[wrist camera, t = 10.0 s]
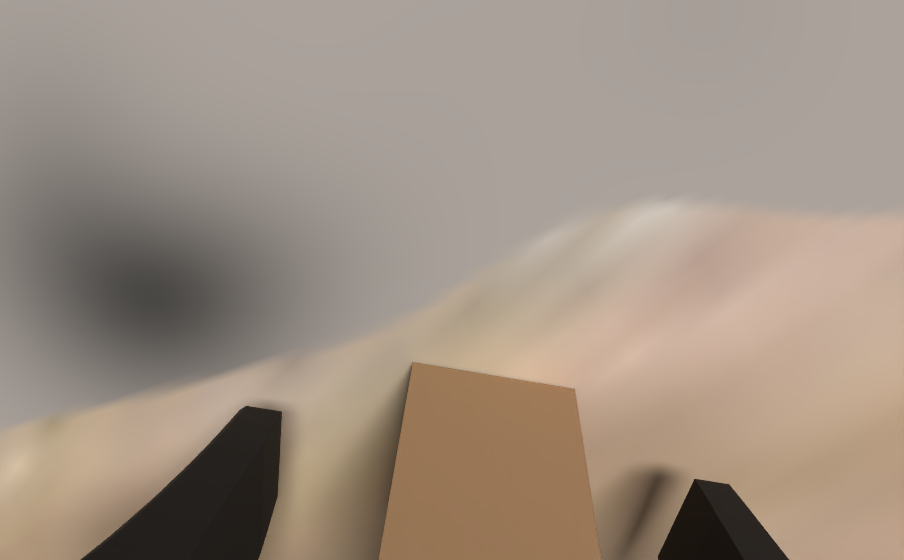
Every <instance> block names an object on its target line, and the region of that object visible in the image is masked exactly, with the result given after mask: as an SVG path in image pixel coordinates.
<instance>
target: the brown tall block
mask: <svg viewBox="0 0 904 560" xmlns="http://www.w3.org/2000/svg"><path fill="white" fill-rule="evenodd" d="M379 560H601V555H600V549H599V542H598V536H597V529H596V523H595V516H594V510H593V503H592V497H591V491H590V484H589V478H588V471H587V465H586V458H585V452H584V445H583V439H582V432H581V426H580V420H579V413H578V407H577V400H576V394H575V389H570V388H564V387H558V386H552V385H546V384H540V383H534V382H528V381H522V380H516V379H510V378H504V377H498V376H492V375H486V374H480V373H474V372H468V371H462V370H456V369H450V368H444V367H438V366H432V365H426V364H420V363H414V362H413V364H412V370H411V376H410V381H409V387H408V393H407V399H406V404H405V410H404V416H403V422H402V427H401V433H400V439H399V445H398V450H397V456H396V462H395V468H394V473H393V479H392V485H391V491H390V496H389V502H388V508H387V514H386V519H385V525H384V531H383V537H382V542H381V548H380V554H379Z"/></svg>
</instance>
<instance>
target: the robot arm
mask: <svg viewBox="0 0 904 560" xmlns="http://www.w3.org/2000/svg"><path fill="white" fill-rule="evenodd" d="M281 419H282V412H280V411H274V410H268V409H262V408H256V407H249V406H246V407H244V408H242V409H241V410H239V411H238V413H237V414H236V415H235V416H234V417H233V418H232V419H231V421H230V422H229V423H228V424H227V425H226V426H225V427H224V428H223V429H222V430H221V432H220V433H219V434H218V435H217V436H216V437H215V438H214V439H213V440H212V441H211V442H210V443H209V444H208V445H207V446H206V448H205V449H204V450H203V451H202V452H201V453H200V454H199V455H198V456H197V457H196V458H195V459H194V460H193V461H192V462H191V463H190V464H189V465H188V466H187V467H186V468H185V469H184V470H183V471H182V472H180V473H179V474H178V475H177V476H176V477H175V478H174V479H173V480H172V481H171V482H170V483H169V484H168V485H167V486H166V487H165V488H164V489H163V490H162V491H161V492H160V493H159V494H158V495H156V496H155V497H154V498H153V499H152V500H151V501H150V502H149V503H148V504H146V505H145V506H144V507H143V508H142V509H141V510H140V511H138V512H137V513H136V514H135V515H134V516H133V517H132V518H130V519H129V520H128V521H127V522H126V523H125V524H123V525H122V526H121V527H120V528H119V529H118V530H117V531H115V532H114V533H113V534H112V535H111V536H110V537H108V538H107V539H106V540H105V541H103V542H102V543H101V544H100V545H98V546H97V547H96V548H95V549H94V550H92V551H91V552H90V553H88V554H87V555H86V556H85V557H83V558H82V559H81V560H258V558H259V556H260V553H261V550H262V547H263V544H264V540H265V537H266V534H267V530H268V527H269V524H270V520H271V517H272V513H273V510H274V506H275V503H276V500H277V496H278V477H279V458H280V438H281ZM658 560H789V559H788V558H787V557H786V555H785V554H784V553H783V551H782V550H781V549H780V548H779V546H778V545H777V544H776V543H775V541H774V540H773V539H772V538H771V536H770V535H769V534H768V532H767V531H766V530H765V529H764V527H763V526H762V525H761V524H760V522H759V521H758V520H757V518H756V517H755V516H754V515H753V513H752V512H751V511H750V510H749V508H748V507H747V506H746V505H745V503H744V502H743V501H742V500H741V498H740V497H739V496H738V495H737V493H736V492H735V491H734V490H733V489H732V487H731V486H730V485H729V484H723V483H717V482H711V481H705V480H699V479H694V481H693V484H692V486H691V488H690V490H689V492H688V494H687V496H686V498H685V500H684V502H683V505H682V507H681V509H680V511H679V513H678V515H677V517H676V519H675V521H674V524H673V526H672V528H671V530H670V532H669V534H668V536H667V538H666V540H665V543H664V545H663V547H662V549H661V551H660V553H659V555H658Z"/></svg>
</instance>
